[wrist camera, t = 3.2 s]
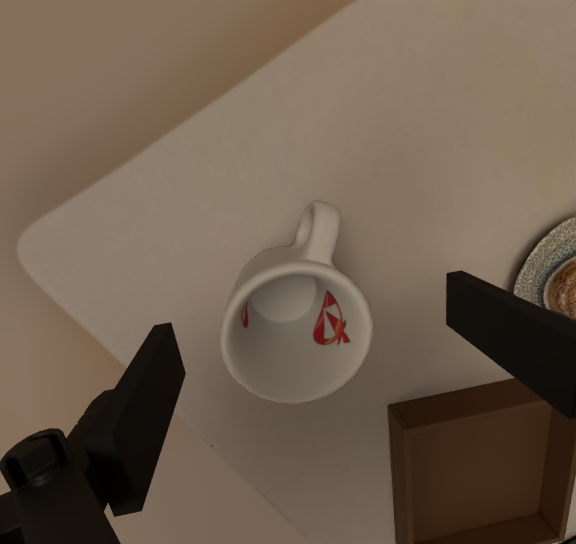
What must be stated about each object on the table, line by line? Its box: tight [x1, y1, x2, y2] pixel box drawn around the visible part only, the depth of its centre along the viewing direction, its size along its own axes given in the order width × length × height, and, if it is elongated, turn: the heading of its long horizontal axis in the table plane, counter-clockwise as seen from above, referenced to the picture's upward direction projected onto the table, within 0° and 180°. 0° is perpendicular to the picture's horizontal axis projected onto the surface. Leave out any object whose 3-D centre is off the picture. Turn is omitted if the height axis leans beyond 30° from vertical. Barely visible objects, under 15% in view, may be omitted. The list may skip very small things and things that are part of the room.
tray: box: [388, 378, 576, 544], centre depth 30 cm, size 16×18×3 cm
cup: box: [219, 201, 373, 403], centre depth 20 cm, size 11×8×8 cm
